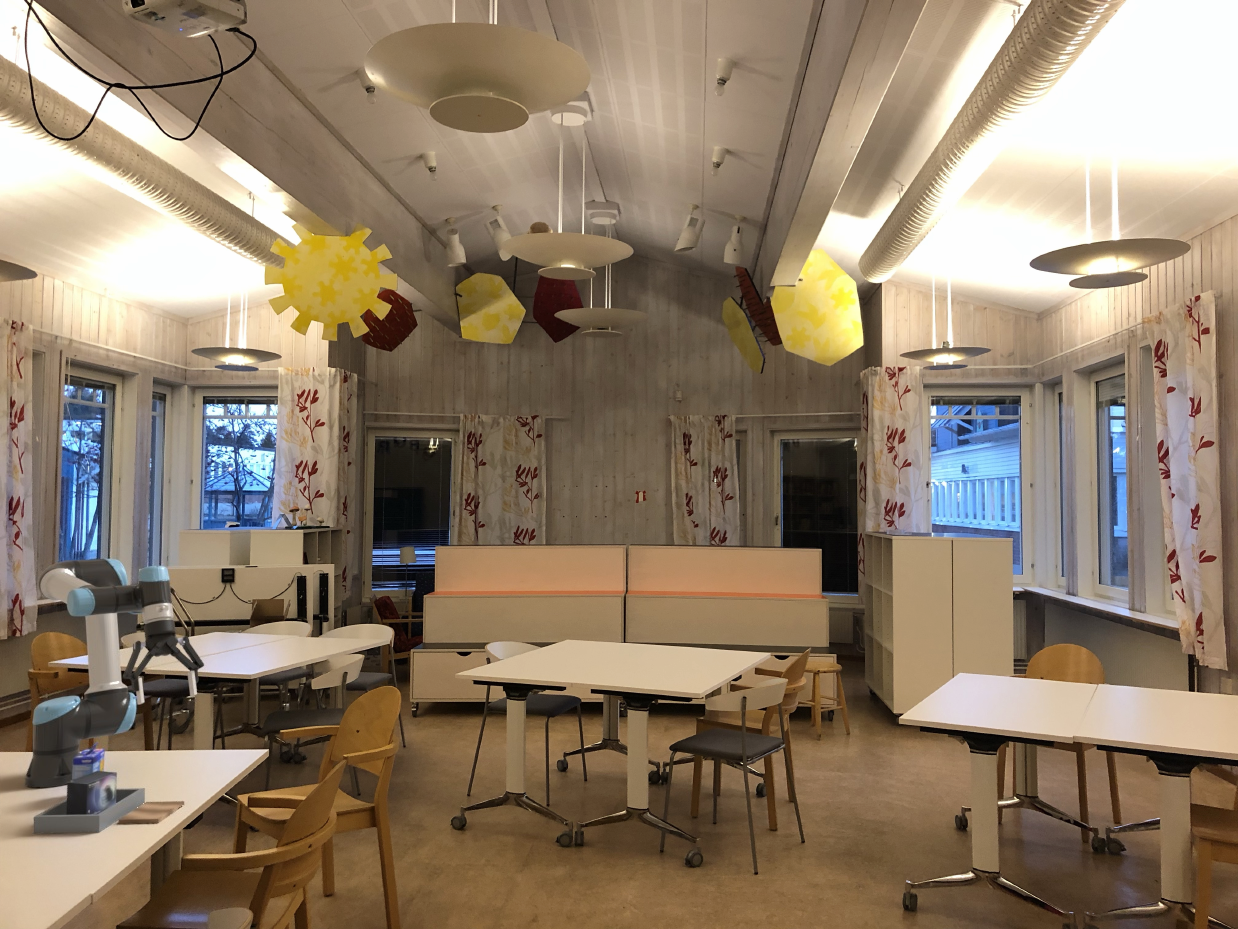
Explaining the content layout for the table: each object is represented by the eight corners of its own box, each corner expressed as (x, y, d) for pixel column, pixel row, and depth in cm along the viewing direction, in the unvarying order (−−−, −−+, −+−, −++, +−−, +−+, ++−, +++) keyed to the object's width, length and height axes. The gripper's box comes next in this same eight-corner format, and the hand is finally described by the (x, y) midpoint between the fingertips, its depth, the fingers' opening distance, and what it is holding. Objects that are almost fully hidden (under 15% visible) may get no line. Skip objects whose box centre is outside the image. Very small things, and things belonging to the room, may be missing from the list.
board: (146, 805, 245) (146, 801, 245) (184, 805, 245) (184, 801, 245) (118, 823, 231) (118, 819, 231) (158, 823, 231) (158, 819, 231)
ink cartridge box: (93, 802, 249) (93, 748, 249) (70, 804, 247) (71, 749, 248) (104, 791, 258) (105, 739, 259) (83, 793, 257) (83, 740, 258)
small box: (86, 825, 230) (87, 783, 231) (64, 824, 231) (64, 782, 232) (117, 812, 241) (118, 771, 241) (96, 810, 242) (96, 770, 242)
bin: (84, 804, 247) (84, 789, 247) (144, 803, 247) (144, 788, 247) (33, 833, 225) (33, 816, 225) (99, 832, 225) (99, 815, 225)
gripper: (114, 623, 241) (122, 704, 235) (210, 614, 259) (220, 689, 254) (104, 630, 246) (112, 709, 240) (199, 621, 264) (209, 695, 258)
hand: (167, 699), depth 247 cm, fingers open, 13 cm apart
